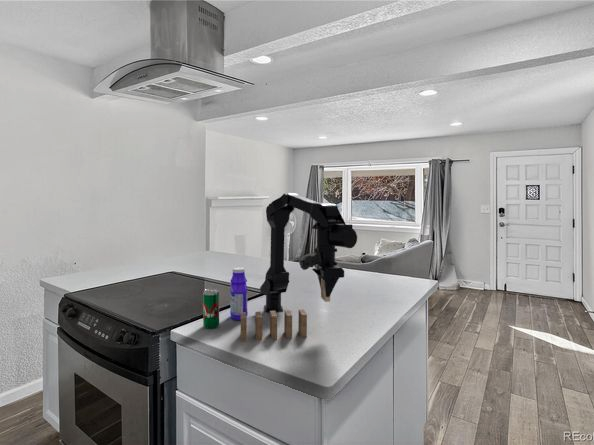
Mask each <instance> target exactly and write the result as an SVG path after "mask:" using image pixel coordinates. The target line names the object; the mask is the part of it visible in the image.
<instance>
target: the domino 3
mask: <svg viewBox="0 0 594 445" xmlns="http://www.w3.org/2000/svg"><path fill="white" fill-rule="evenodd" d="M269 334H270V338H271V340H278V315H277V311H270V312H269Z"/></svg>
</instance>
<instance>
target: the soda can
mask: <svg viewBox="0 0 594 445" xmlns="http://www.w3.org/2000/svg"><path fill="white" fill-rule="evenodd" d="M202 317H203V318H202V319H203V320H202V325H203V327H204V329H209V330H212V329H216V328H218V327H219V326H220V292H219V291H218V289H217V288H205V289H204V291H203V293H202Z"/></svg>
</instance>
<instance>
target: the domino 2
mask: <svg viewBox="0 0 594 445" xmlns="http://www.w3.org/2000/svg"><path fill="white" fill-rule="evenodd" d="M254 317H255V320H254V321H255V322H254V323H255V332H254V333H255V338H256V341H262V340H263V315H262V311H260V310H259V311H255V316H254Z"/></svg>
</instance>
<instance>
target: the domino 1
mask: <svg viewBox="0 0 594 445" xmlns="http://www.w3.org/2000/svg"><path fill="white" fill-rule="evenodd" d="M247 318H248V316H247V317H246V312H241V320H240V342H247V340H248V339H247V338H248V335H247V334H248V333H247V331H248V329H247V327H248V326H247V323H248V322H247V320H248V319H247Z"/></svg>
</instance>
